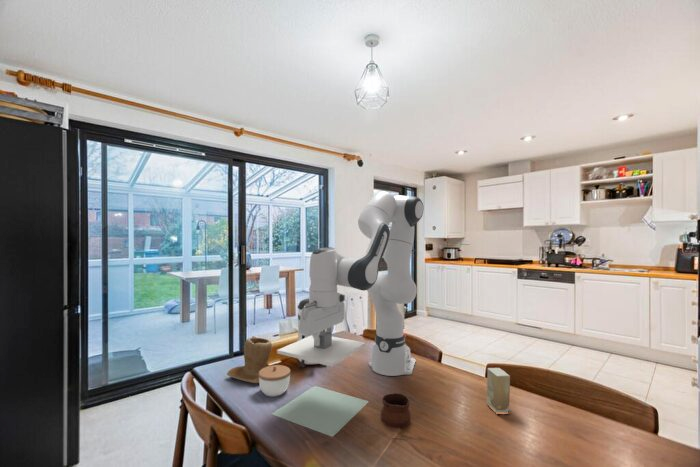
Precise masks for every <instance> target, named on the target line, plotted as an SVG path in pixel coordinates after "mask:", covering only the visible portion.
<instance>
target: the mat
mask: <svg viewBox="0 0 700 467" xmlns="http://www.w3.org/2000/svg"><path fill="white" fill-rule="evenodd" d="M369 402H370V401H368V400H364V399H362V398H358V397H355V396H351V395H348V394H345V393H341V392H337V391H335V390H330V389H327V388H324V387H320V386H318V385H317V386H316V385H313V386H312V387H310V388H309V389H307V390H306V391H304V392H302V393H301V394H300V395H298V396H296V397H295V398H293V399H292V400H290V401H289V402H287V403H286V404H284V405H283V406H281V407H280V408H278V409H276V410H275V411H274V412H272V413H271V415H272V416H275V417H278V418H280V419H283V420H286V421H289V422H292V423H294V424H297V425H299V426H302V427H306V428H308V429H310V430H313V431H315V432H318V433H319V434H323V435H327V436H329V437H332V438H333V437H334V436H335V435H336V434H338V432H340V430H341V429H343V427H344V426H346V425H347V424H348V422H350V420H352V419H353V418H354V417H355V416H356V415H357V414H358V413H359V412H360V411H361V410H362V409H364V407H365V406H367V404H368V403H369Z"/></svg>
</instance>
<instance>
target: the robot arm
mask: <svg viewBox="0 0 700 467" xmlns="http://www.w3.org/2000/svg"><path fill="white" fill-rule="evenodd" d="M423 214H424V203H423V201H422V199H421V198H419V197H417V196H414V195H402V194H401V195H400V194H399V195H398V194H397V195H393V194H392V193H390V192H388V191H379V192H377V193H376V194H375V195H374V196H373V197H372V198H370V200H369V201H368V202H367V204H366V205H365V206H364V207H363V209H362V211H361V212H360V214H359V217H358V220H357V223H358V224H357V226H358V228H359V230H360V232H361V233H362V234H363V235H364V236H365V237H366V238H368V239H370V240H369V243H368V246H367V249H366V251H365V253H364V255H362V256H360V257H348V256H345V255H342V254H340V253H339V252H337V251H336V250H337V249H336V248H334V247H332V246H331V247H330V246H329V247H328V246H327V247H326V246H325V247H320V248H316V249H314V250H313V251H312V252H311V256H310V259H309V270H308V271H309V279H310V284H309V294H308V295H309V297H308V299H309V303H307V304H305V306H304V308H303V309H302V312H301V316H300V324H299V332H300V334H301V335H304V336H311V335H312V336H313V338H314V345H315V346H320V345H321V344H322V339H320V337H319V335H320V331H323V330H325V329H326V332H329V333H332V334H333V332H334V328H335V326H337V325H338V324H341V323H343V321H344V319H345V301H346V295H345V294H343V293H340V292H338V286H342V287H347V288H353V289H355V290H360V291H367V293H368V294H369V296H370V297H371V300H372V303H373V307H374V311H375V319H376V323H375V324H376V329H375V330H376V333H375V335H374V341H375V342H374V343H375V344H373V346H372V347H371V349H372V350H371V361H369V362H368V366H369V367H370V368H371V369H372V371H373V372H375V373H376V374H379V375H383V376H389V377H391V376H392V377H394V376H396V377H397V376H402V375H412V373H413V371H414V368H415V366H414V365H416V363H415V362H417V360H416V359H415V358H414V357H411V348H410V347H409V346H408V345H407V344H406V338H407V333H406V332H404V316H403V313H402V312H401V311H400V309H399V308H398V305H397V304H400V305H401V304H402V305H403V304H404V305H406V304H410V303H412V302H413V301H414V300H415V299H416V296H417V291H418V289H417V285H416V283H415V281H414V280H413V278H412V276H411V268H410V264H411V257H412V251H413V245H414V240H415V226H416V225H417V223H418V222H420V220H421V219H422V217H423ZM390 223H391V227H389V225H390ZM382 259H383V260H384V262H385V263H386V267H387V273H384V272H380V273H379V268H380V266H381V263H382ZM305 307H306V308H305Z"/></svg>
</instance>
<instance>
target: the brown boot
mask: <svg viewBox="0 0 700 467" xmlns="http://www.w3.org/2000/svg"><path fill="white" fill-rule="evenodd" d="M271 352H272V342H271V340H270V339H267V338H262V337H255V336H254V337H248V338H247V339H246V340H245V342H244V346H243V357H244V358H243V359H244V365H238V366H236V367H232V368H231V369H230V370H228V371H227V373H226V375H227V377H230V378H234V379H237V380H239V381H244V382H246V383H250V384H251V383H252V384H259V371H260V370H261V369H263V368H265V367H267V363H268V362H269V359H270V356H271Z"/></svg>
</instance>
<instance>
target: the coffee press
mask: <svg viewBox="0 0 700 467" xmlns="http://www.w3.org/2000/svg"><path fill="white" fill-rule="evenodd" d="M307 303H309V298H304V299H302V300H300V302H299V303H298V304H297V310H298V314H297V321H298V322H297V323H298V324H297V326H298V330H297V331H298V332H297V341H299V340H302V339H304V338H306V337H308V336H304V335H301V334H300V332H299V324H300V316H301V312H302V309H303V308H304V306H305V304H307ZM305 308H306V307H305ZM323 331H324V332H326V331H327V329H325V330H323ZM297 361H299V362H300V366H299V368H300V369H303V368H305V367H306V365H318V364H319V363H315V362H310V361H306V360H302V359H298V358H297ZM321 366H322V367H323V368H326V367H328V366H327V365H323V364H321Z"/></svg>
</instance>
